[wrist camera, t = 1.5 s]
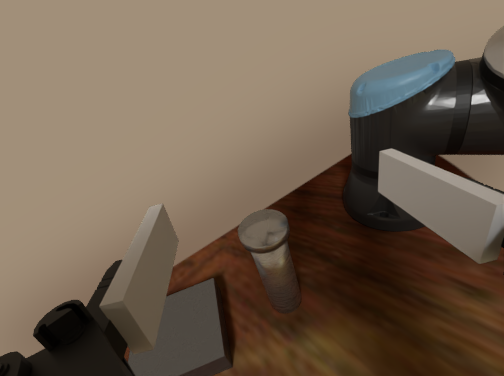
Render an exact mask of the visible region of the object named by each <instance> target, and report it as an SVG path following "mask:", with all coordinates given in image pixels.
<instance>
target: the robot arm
mask: <svg viewBox="0 0 504 376" xmlns="http://www.w3.org/2000/svg"><path fill="white" fill-rule="evenodd" d="M349 116H350V128H351V149H352V150H351V151H352V168H351V171H350V174H349V177H348V180H347V183H346V185H345V188H344V191H343V201H344V207H345V209H346V211H347V213H348V214H349V215H350V216H351V217H352V218H353V219H355V220H356V221H358V222H359V223H361V224H363V225H366V226H368V227H371V228H375V229H379V230H384V231H409V230H414V229H418V228H421V227H424V226H427V227H428V228H430V229H431V230H432V231H434V232H435V233H437V234H438V235H439V236H441V237H442V238H444V239H445V240H446V241H448V242H449V243H451V244H452V245H453V246H455V247H456V248H458V249H459V250H460V251H462V252H463V253H465V254H466V255H467V256H469V257H470V258H472V259H473V260H474V261H476V262H477V263H479V264H481V263H485V262H488V261H492V260H496V259H497V258H498V255H499V253H500V250H501V247H503V248H504V192H503V191H500V190H498V189H493V187H490V186H488V185H484V184H483V183H480V182H478V181H475V180H473V179H469V178H465V177H460V176H458V175H455V174H453V173H450V172H448V171H445V170H443V169H441V168H438V167H436V166H434V165H435V159H436V155H446V154H447V155H449V154H450V155H453V154H454V155H455V154H457V155H463V154H464V155H504V26H503V27H502V28H500V29H499V30H498V31H497V32H496V33H495V34H494V35H493V36H492V37H491V38H490V39H489V41H488V43H487V45H486V47H485V50H484V53H483V56H482V57H481V58H475V59H469V60H464V61H459V62H455V57H454V56H453V53H452V52H451V51H449V50H434V51H430V52H421V53H417V54H413V55H409V56H405V57H402V58H399V59H396V60H393V61H390V62H387V63H384V64H382V65H380V66H377V67H375V68H373V69H371V70H369V71H367V72H365V73H364V74H362V75H361V76H360V77H359V78H358V79H356V80H355V82H354V83H353V85H352V87H351V90H350V109H349ZM178 242H179V241H178V238H177V235H176V233H175V231H174V229H173V226H172V224H171V221H170V219H169V217H168V214H167V212H166V210H165V207H164V205H163V204H159V205H154V206H150V207H149V210H148V211H147V213H146V215H145V217H144V219H143V221H142V223H141V225H140V227H139V229H138V231H137V233H136V235H135V237H134V239H133V241H132V243H131V245H130V247H129V249H128V251H127V252H126V254H125V256H124V258H123V260H119V261H115V263H113V265H112V266H111V267H110V268H109V269H108V270H107V271H106V273H105V275H104V276H103V278H102V281H101V282H100V283H99V285H98V287H97V290H95V292H94V294H93V296H92V297H91V299H90V301H89V303H88V305H87V306H86V307H85V306H84V305H83V303H82V302H81V301H79V300H71V301H68V302H64V303H62V304H61V305H59V306H57V307H55V308H54V309H52V310H51V311H50V312H49V313H47V314H46V315H45V316H44V317H43V318H42V319H41V320H40V321H39V323H38V324H37V326H36V328H35V329H34V334H33V336H34V337H35V338H36V339H37V340H38V341H39V342H40V343H41V344H42V345H43V346H44V347H45V348H46V349H44V350H42V351H40V352H38V353H36V354H34V355H32V356H30V357H28V358H25V357H23V355H21V354H20V353H18V352H10V353H7V354H5V355H3V356H1V357H0V376H135V374H134V372H133V371H132V369H131V367H130V365H129V364H128V362H127V361H126V359H125V358H124V354H125V351H126V348H127V346H128V347H129V348H130V350H131V351H132V352H133V354H138V353H142V352H145V351H149V350H153V349H154V347H155V343H156V338H157V334H158V329H159V325H160V321H161V316H162V312H163V308H164V303H165V299H166V294H167V290H168V286H169V281H170V277H171V272H172V268H173V264H174V259H175V255H176V250H177V246H178ZM503 275H504V274H503Z"/></svg>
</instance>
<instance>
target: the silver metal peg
mask: <svg viewBox="0 0 504 376" xmlns="http://www.w3.org/2000/svg"><path fill="white" fill-rule="evenodd" d="M289 234H290V229H289V225H288V221H287V218H286V216H285V215H284V214H283V213H281V212H279V211H277V210H271V209H266V210H260V211H257V212H254V213H252V214H250V215H249V216H247V217H246V218H245V219H244V220H243V221H242V222H241V224H240V226H239V228H238V235H239V238H240V240H241V243H242V245H243V247H244V248H245V249H246V250H248V251H250V252H251V253H252V256H253V259H254V261H255V264H256V266H257V269H258V271H259V274H260V277H261V279H262V282H263V284H264V287H265V289H266V292H267V295H268V297H269V300H270V302H271V305H272V307H273V308H274V309H275V310H276V311H278V312H280V313H290V312H293V311H294V310H296V309H297V308H298V307H299V305H300V303H301V293H300V289H299V285H298V281H297V278H296V274H295V270H294V266H293V262H292V258H291V254H290V250H289V247H288V243H287V240H288V238H289Z"/></svg>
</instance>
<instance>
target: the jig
mask: <svg viewBox="0 0 504 376" xmlns="http://www.w3.org/2000/svg"><path fill="white" fill-rule="evenodd" d="M128 364H129V365H130V367H131V369H132V371H133V372H134V374H135V376H213V375H215V374H217V373H220V372H222V371H224V370H227V369H229V368H231V367H232V361H231V354H230V348H229V342H228V336H227V330H226V324H225V317H224V311H223V305H222V299H221V293H220V289H219V287H218V285H217V283H216V282H215V280H214V278H212V279H209V280H207V281H204V282H202V283H199V284H197V285H194V286H192V287H189V288H187V289H184V290H182V291H179V292H177V293H174V294H172V295H169V296H167V297H166V299H165V303H164V308H163V312H162V316H161V321H160V325H159V329H158V334H157V338H156V343H155V347H154V349H153V350H149V351H145V352H142V353H138V354H133V352H132V351H131V350H130V354H129V360H128Z"/></svg>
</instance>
